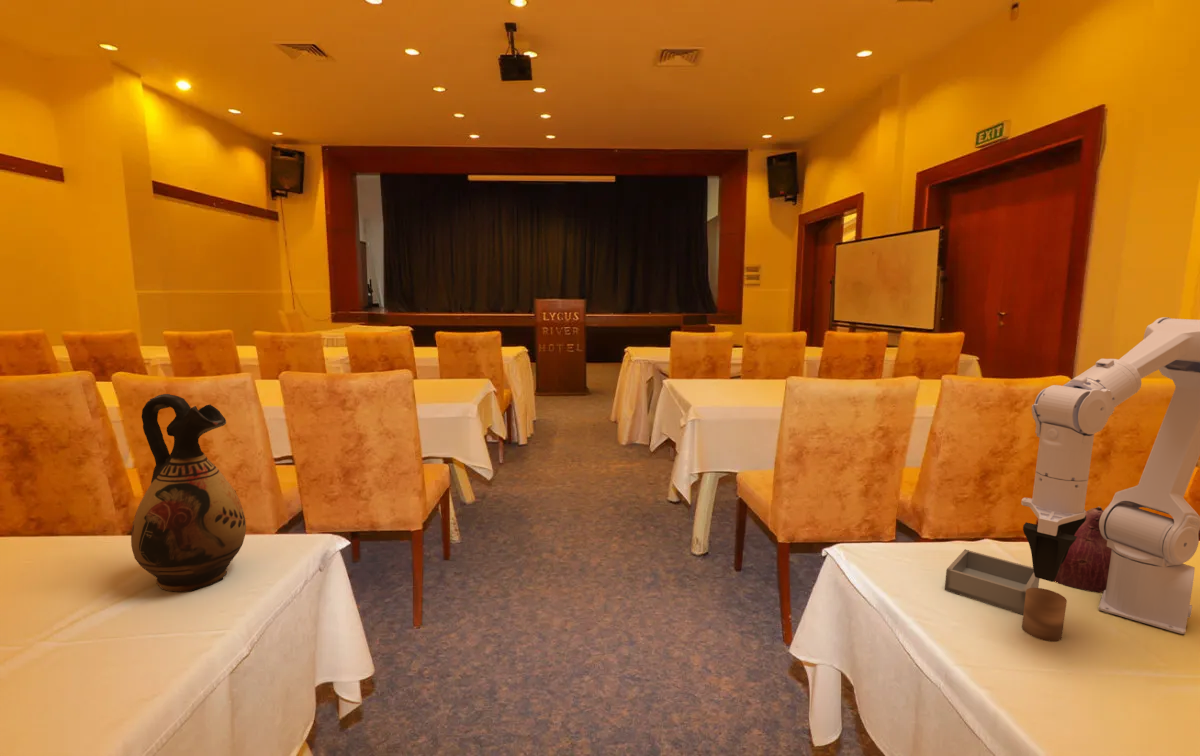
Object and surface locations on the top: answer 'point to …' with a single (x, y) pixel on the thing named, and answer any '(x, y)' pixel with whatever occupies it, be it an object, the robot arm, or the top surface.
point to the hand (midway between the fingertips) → (1049, 569)
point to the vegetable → (1087, 557)
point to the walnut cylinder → (1044, 614)
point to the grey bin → (990, 580)
